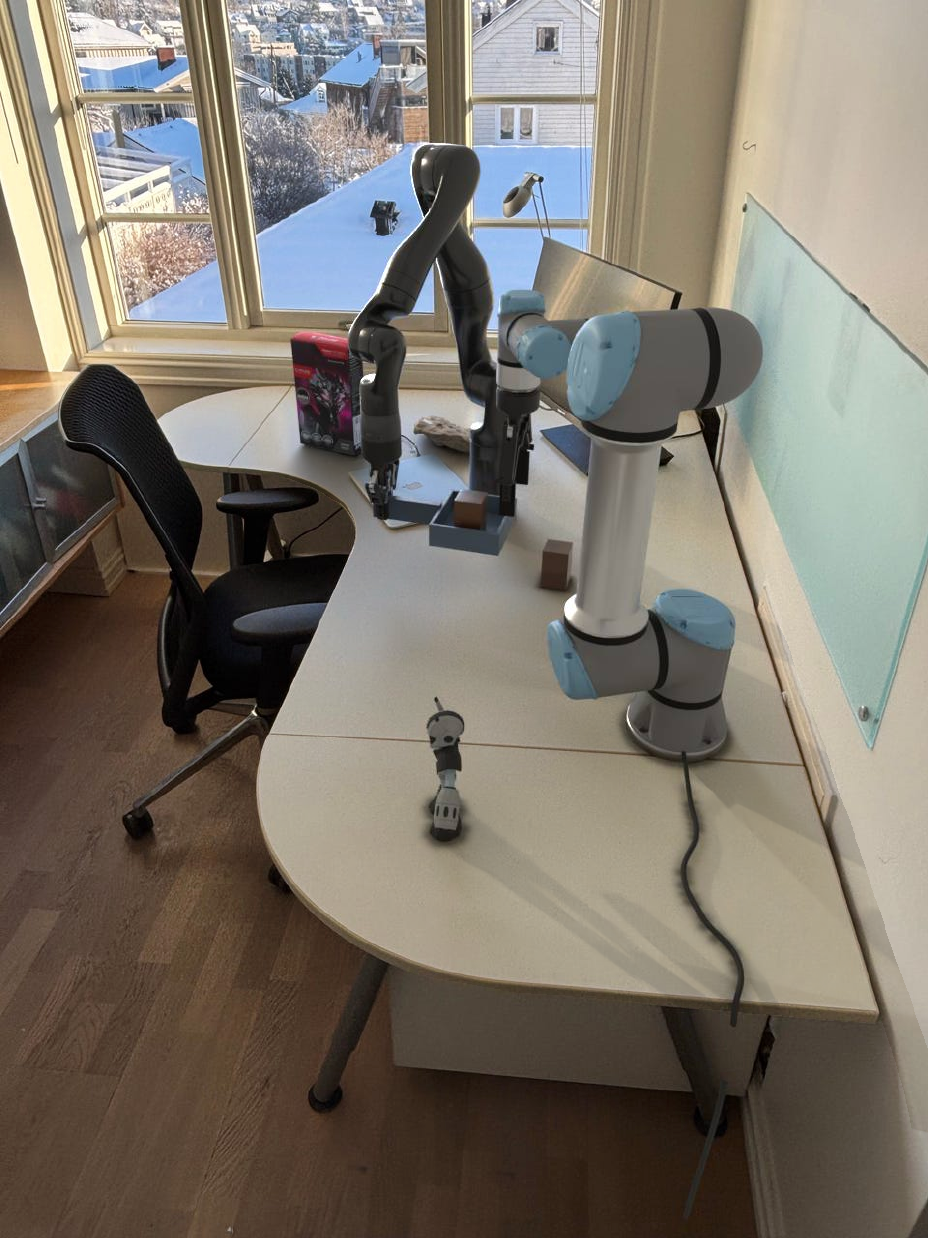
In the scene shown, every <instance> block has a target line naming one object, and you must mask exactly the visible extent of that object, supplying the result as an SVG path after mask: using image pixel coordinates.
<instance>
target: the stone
mask: <svg viewBox="0 0 928 1238" xmlns="http://www.w3.org/2000/svg"><path fill="white" fill-rule="evenodd" d="M413 427H414V428H413V430H412V431H413V434H414V435H416V436H417V435H424V436H426V438H427V439H428V440H431V441H433V442H434V443H435V445H436V446H440V447H443V446H446V447H448V448H450V449H453V450H457V451H459V452H464V453H470V427H463V426H460V425H457V424H456V423H452V422H451V421H450V420H447V419H445V418H444V417H442V416H436V415H429V416H422V417H420V418H419V419H418V420H417V421H415V422H414V424H413Z"/></svg>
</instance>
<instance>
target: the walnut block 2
mask: <svg viewBox="0 0 928 1238" xmlns="http://www.w3.org/2000/svg"><path fill="white" fill-rule="evenodd" d="M573 549H574V542H573V541H567V540H566V541H565V540H559V539H551V538H547V540H546V541H545V544H544V547H543V549H542V553H541V554H542V555H541V570H540V571H541V572H540V584H539V585H540V588H545V589H550V590H557V591H558V590H559V591H564V592H565V591H566V592H567V589H568V586H569V583H570V579H571V575H572V574H571V573H572V561H573V551H574V550H573Z"/></svg>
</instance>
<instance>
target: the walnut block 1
mask: <svg viewBox="0 0 928 1238" xmlns="http://www.w3.org/2000/svg"><path fill="white" fill-rule="evenodd" d="M486 522H487V492H479V491H472V490H469V489H464V488H461V489H460V492H459V494H458V496H457V497H456V499H455V501H454V527H460V528H467V529H474V530H481V531H486Z"/></svg>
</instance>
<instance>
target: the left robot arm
mask: <svg viewBox="0 0 928 1238" xmlns="http://www.w3.org/2000/svg"><path fill="white" fill-rule="evenodd" d="M411 159H412V160H411V163H410V177H411V184H412V188H413V191H414V195H415V198H416V200H417V203H418V207H419V210H420V211H421V214H422V217H423V219H422V220H421V222H420V223H419V224H418V225H417V227H416V228H415V229H414V230H413V231H412V232H411V233H410V234H409V235H408V236H407V237H406V238H405V239H404V240H403V241H402V242H401V244H400V245H399V246H398V247H397V249H395V251H394V252H393V253H392V255H391V257H390V259H389V261H388V262H387V265H386V267H385V269H384V272H383V274H382V277H381V279H380V281H379V284H378V286H377V288H376V291H375V293H374V294H373V296H372V297H371V298H370V299H369V300H368V302H366V304H365V305H364V308H362V310H361V311H360V313H359V314H358V315H357V317H356V318H355V319H354V320H353V323H352V324H351V326H350V329H349V330H348V336H347V339H348V348H349V351H350V353H351V355H352V356H353V357H354V358H356V359H358V360H361V361H363V363H367V364H372V365H375V373H372V374H368V375H365V376H363V377H364V378H362V380H361V381H360V386H359V393H360V409H361V410H360V435H361V452H360V453H361V457H362V459H363V460H364V461H366V462H367V463H369V464H370V467H369V469H368V472H369V474H368V475H369V477H370V481H369V482H365V483H364V489H365V492H366V494H367V496H368V499H369V501H370V503H371V504H373V503H375V504H376V513H377V517H376V519H377V520H379V521H387V520H389V519H388V517H389V516H388V495H393V496H394V491H396V489H397V483H398V475H399V468H400V463H401V462H400V459H401V457H402V455H403V448H402V447H403V446H402V445H403V444H402V419H401V413H400V400H399V399H400V394H399V388H400V387H399V386H400V383H401V378H402V374H403V369H404V366H405V362H406V358H407V351H408V350H407V349H408V348H407V347H408V346H407V341H406V338H405V336H404V334H403V332H402V331H401V330H400V329H399V328H398V327H396V326H394V325H389V324H390V323H391V322H392V321H393V320H395V319H402V318H407V317H409V316H411V314H412V313H413V311H414V308H415V306H416V303H417V301H418V299H419V297H420V295H421V292H422V289H423V287H424V285H425V283H426V280H427V278H428V276H429V273H430V271H431V270H432V267H433V265H434V263H435V262H436V265H437V268H438V273H439V277H440V282H441V287H442V291H443V296H444V299H445V303H446V307H447V311H448V315H449V318H450V323H451V327H452V332H453V336H454V340H455V345H456V351H457V358H458V366H459V373H460V375H459V376H460V380H461V382H460V383H461V386H462V390H463V393H464V395H465V397H466V398H467V399H468V400H469V401H470V402H472V403H473V404H475V405H477V406H479V407H481V408H484V411H483V413H484V414H483V419H480V420H477V421H475V422H473V423H472V424H471V425H470V427H469V428H470V452H469V467H468V468H469V469H468V470H469V471H468V472H469V473H468V478H469V479H468V481H469V482H468V483H469V485H468V490H472V491H479V492H487V494H489V495H496V496H500V484H498V483H496V482H495V478H498V474H499V465H500V456H501V447H502V437H503V430H502V428H503V426H504V421H505V420H507V414H506V413H505V412H502V411H500V410H499V409H498V408H497V407H496V388H497V387H498V386H499V385H498V384H497V383H496V375H497V361H494V359H493V357H492V354H491V350H490V346H489V342H488V337H487V331H488V326H489V325H490V324H489V323H490V320H491V318H492V314H493V310H494V307H495V295H494V287H493V283H492V278H491V273H490V270H489V266H488V263H487V261H486V260H485V257H484V255H483V254H482V252H481V251H480V250H479V248H478V247H477V245H476V243H475V242H474V241H473V239H472V238H471V237H470V235H469V234H468V232H467V230H466V228H464V225H463V223H462V222H461V218H462V216H464V215H463V214H464V213H465V212H466V210H467V208H468V207H469V206H470V203H471V202H472V200H473V198H474V196H475V194H476V192H477V189H478V187H479V184H480V180H481V174H482V171H481V163H480V159H479V156H478V154H477V153H476V151H474V150H473V149H472V148H471V147H468V146H467V145H462V144H453V143H452V144H451V143H438V142H437V143H435V142H433V143H424V144H421V145H420V146H418V147H417V148H416V150H415V152H414V153H413V155H412V158H411ZM383 494H384V496H383Z"/></svg>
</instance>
